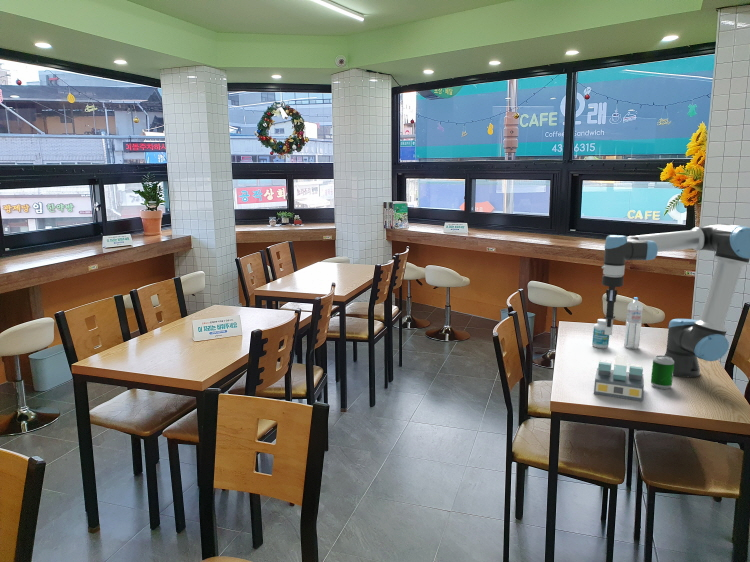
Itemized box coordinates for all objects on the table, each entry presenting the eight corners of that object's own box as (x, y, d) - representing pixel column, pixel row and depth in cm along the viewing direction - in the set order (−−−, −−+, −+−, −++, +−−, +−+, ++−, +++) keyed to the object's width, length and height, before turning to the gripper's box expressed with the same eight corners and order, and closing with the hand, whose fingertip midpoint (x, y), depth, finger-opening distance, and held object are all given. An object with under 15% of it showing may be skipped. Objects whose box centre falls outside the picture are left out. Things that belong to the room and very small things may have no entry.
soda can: (670, 391, 223) (673, 361, 221) (649, 387, 227) (652, 358, 224) (672, 385, 229) (675, 356, 227) (651, 381, 233) (654, 353, 231)
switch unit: (641, 388, 225) (643, 369, 224) (642, 401, 212) (644, 381, 211) (595, 382, 232) (597, 363, 231) (593, 394, 219) (595, 374, 218)
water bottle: (640, 346, 280) (644, 297, 275) (637, 350, 274) (642, 299, 270) (625, 344, 284) (629, 295, 279) (622, 348, 278) (627, 298, 273)
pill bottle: (591, 347, 278) (593, 320, 276) (592, 343, 285) (594, 317, 282) (608, 349, 275) (610, 322, 273) (608, 345, 282) (610, 319, 279)
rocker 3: (641, 371, 223) (642, 365, 223) (642, 375, 212) (642, 369, 212) (629, 370, 225) (629, 364, 225) (629, 374, 214) (630, 367, 214)
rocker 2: (626, 361, 225) (627, 356, 224) (625, 380, 216) (626, 376, 214) (614, 359, 227) (615, 355, 226) (613, 379, 217) (613, 374, 216)
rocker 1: (611, 367, 227) (611, 361, 227) (610, 371, 216) (611, 365, 216) (599, 366, 229) (599, 360, 229) (598, 369, 218) (598, 363, 218)
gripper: (603, 272, 228) (598, 329, 232) (601, 277, 216) (597, 337, 220) (623, 273, 225) (618, 331, 229) (623, 279, 213) (618, 339, 217)
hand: (608, 334), depth 225 cm, fingers closed
